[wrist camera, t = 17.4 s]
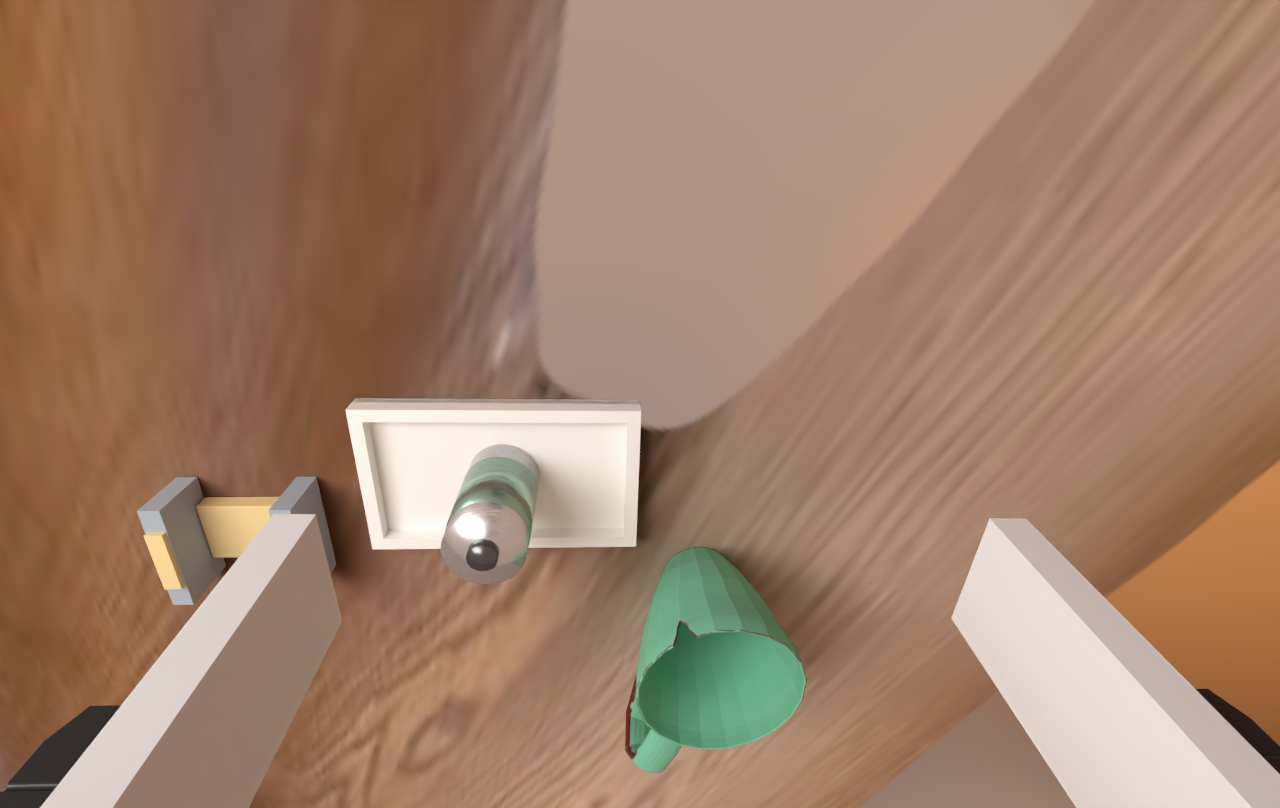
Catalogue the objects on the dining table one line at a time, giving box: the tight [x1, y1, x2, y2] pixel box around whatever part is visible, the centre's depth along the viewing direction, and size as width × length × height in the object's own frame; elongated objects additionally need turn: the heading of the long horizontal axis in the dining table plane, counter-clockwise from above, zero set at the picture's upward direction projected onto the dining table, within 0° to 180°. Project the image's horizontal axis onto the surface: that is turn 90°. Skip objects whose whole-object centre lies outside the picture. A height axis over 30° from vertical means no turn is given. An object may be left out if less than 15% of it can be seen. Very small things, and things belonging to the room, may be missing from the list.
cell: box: [441, 444, 539, 584], centre depth 34 cm, size 4×4×8 cm
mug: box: [625, 548, 807, 773], centre depth 40 cm, size 15×10×10 cm
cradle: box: [137, 477, 336, 605], centre depth 38 cm, size 7×8×4 cm
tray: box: [346, 398, 641, 549], centre depth 38 cm, size 10×17×2 cm, turn 88°
